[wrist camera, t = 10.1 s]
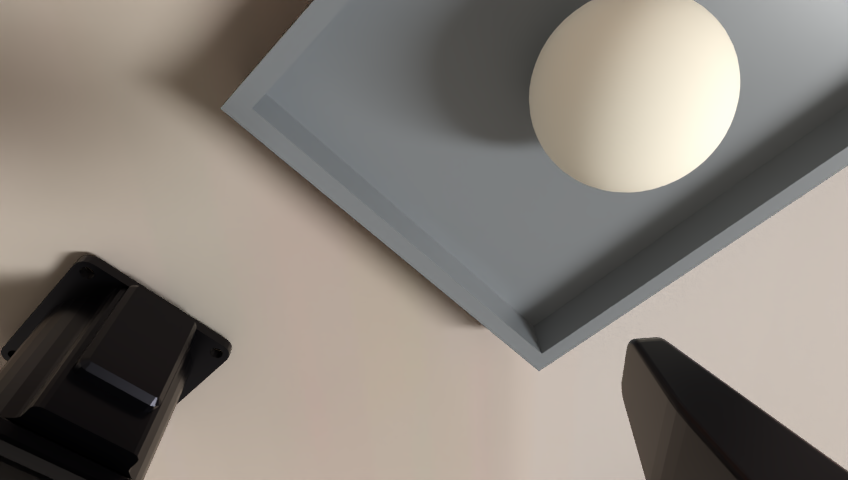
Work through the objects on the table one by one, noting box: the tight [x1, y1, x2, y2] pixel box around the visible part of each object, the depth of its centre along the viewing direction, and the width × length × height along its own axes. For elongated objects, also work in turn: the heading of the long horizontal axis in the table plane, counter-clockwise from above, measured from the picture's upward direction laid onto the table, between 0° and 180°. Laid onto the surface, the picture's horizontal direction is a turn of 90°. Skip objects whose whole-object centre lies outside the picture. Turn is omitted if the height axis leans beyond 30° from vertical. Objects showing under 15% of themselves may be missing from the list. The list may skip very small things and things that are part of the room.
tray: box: [220, 0, 848, 371], centre depth 17 cm, size 16×14×2 cm
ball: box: [529, 0, 740, 193], centre depth 15 cm, size 5×5×5 cm
